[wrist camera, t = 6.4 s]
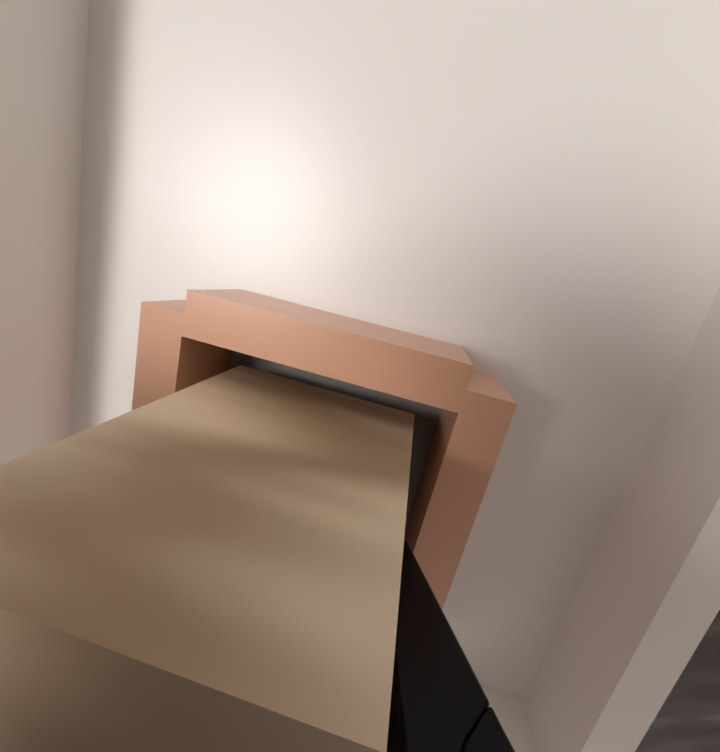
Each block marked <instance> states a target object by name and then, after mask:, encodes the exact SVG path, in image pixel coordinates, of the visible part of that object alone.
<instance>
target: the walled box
mask: <svg viewBox="0 0 720 752" xmlns="http://www.w3.org/2000/svg"><path fill="white" fill-rule="evenodd" d="M240 365H242V366H245V367H249V368H252V369H256V370H259V371H263V372H266V373H270V374H274V375H277V376H281V377H284V378H288V379H291V380H295V381H298V382H302V383H305V384H309V385H313V386H316V387H320V388H323V389H327V390H330V391H334V392H337V393H341V394H345V395H348V396H352V397H355V398H359V399H362V400H366V401H369V402H373V403H376V404H380V405H384V406H387V407H391V408H394V409H398V410H401V411H405V412H408V413H412V414H415V415H414V427H413V439H412V451H411V463H410V475H409V487H408V499H407V511H406V523H405V535H404V539H405V540H406V541H407V542H408V544H409V546H410V548H411V550H412V552H413V554H414V556H415V558H416V560H417V562H418V564H419V566H420V568H421V570H422V571H423V573H424V575H425V577H426V579H427V581H428V583H429V585H430V587H431V589H432V591H433V593H434V595H435V597H436V599H437V601H438V603H439V605H440V607H441V609H442V611H443V613H444V615H445V616H446V618H447V620H448V622H449V624H450V626H451V628H452V630H453V632H454V634H455V636H456V638H457V640H458V642H459V644H460V646H461V648H462V650H463V652H464V654H465V656H466V658H467V660H468V661H469V663H470V665H471V667H472V669H473V671H474V673H475V675H476V677H477V679H478V681H479V683H480V685H481V687H482V689H483V691H484V693H485V695H486V697H487V699H488V701H489V707H492V708H493V710H494V712H495V714H496V716H497V718H498V720H499V722H500V724H501V726H502V728H503V729H504V731H505V733H506V735H507V737H508V739H509V741H510V743H511V745H512V746H513V748H514V750H515V752H635V751H636V749H637V747H638V746H639V744H640V742H641V741H642V739H643V737H644V736H645V734H646V732H647V731H648V729H649V727H650V726H651V724H652V722H653V721H654V719H655V717H656V715H657V714H658V712H659V710H660V709H661V707H662V705H663V704H664V702H665V700H666V699H667V697H668V695H669V694H670V692H671V690H672V689H673V687H674V685H675V684H676V682H677V680H678V679H679V677H680V675H681V674H682V672H683V670H684V669H685V667H686V665H687V663H688V662H689V660H690V658H691V657H692V655H693V653H694V652H695V650H696V648H697V647H698V645H699V643H700V642H701V640H702V638H703V637H704V635H705V633H706V632H707V630H708V628H709V627H710V625H711V623H712V622H713V620H714V618H715V617H716V615H717V613H718V612H719V610H720V0H0V465H3V464H5V463H7V462H10V461H12V460H15V459H17V458H19V457H22V456H24V455H27V454H29V453H31V452H34V451H36V450H39V449H41V448H43V447H46V446H48V445H51V444H53V443H55V442H58V441H60V440H63V439H65V438H67V437H70V436H72V435H75V434H77V433H79V432H82V431H84V430H87V429H89V428H91V427H94V426H96V425H99V424H101V423H103V422H106V421H108V420H111V419H113V418H115V417H118V416H120V415H123V414H125V413H127V412H130V411H132V410H134V409H137V408H139V407H142V406H144V405H146V404H149V403H151V402H154V401H156V400H158V399H161V398H163V397H166V396H168V395H170V394H173V393H175V392H178V391H180V390H182V389H185V388H187V387H190V386H192V385H194V384H197V383H199V382H202V381H204V380H206V379H209V378H211V377H214V376H216V375H218V374H221V373H223V372H226V371H228V370H230V369H233V368H235V367H238V366H240Z"/></svg>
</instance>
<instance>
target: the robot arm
mask: <svg viewBox="0 0 720 752" xmlns="http://www.w3.org/2000/svg"><path fill="white" fill-rule="evenodd" d="M387 752H515V750H514V748H513V746H512V745H511V743H510V741H509V739H508V737H507V735H506V733H505V731H504V729H503V728H502V726H501V724H500V722H499V720H498V718H497V716H496V714H495V712H494V710H493V708H492V707H489V701H488V699H487V697H486V695H485V693H484V691H483V689H482V687H481V685H480V683H479V681H478V679H477V677H476V675H475V673H474V671H473V669H472V667H471V665H470V663H469V661H468V660H467V658H466V656H465V654H464V652H463V650H462V648H461V646H460V644H459V642H458V640H457V638H456V636H455V634H454V632H453V630H452V628H451V626H450V624H449V622H448V620H447V618H446V616H445V615H444V613H443V611H442V609H441V607H440V605H439V603H438V601H437V599H436V597H435V595H434V593H433V591H432V589H431V587H430V585H429V583H428V581H427V579H426V577H425V575H424V573H423V571H422V570H421V568H420V566H419V564H418V562H417V560H416V558H415V556H414V554H413V552H412V550H411V548H410V546H409V544H408V542H407V541H406V540H405V539H404V547H403V559H402V572H401V584H400V596H399V608H398V620H397V632H396V644H395V656H394V668H393V680H392V692H391V704H390V716H389V728H388V740H387Z"/></svg>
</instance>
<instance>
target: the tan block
mask: <svg viewBox="0 0 720 752" xmlns="http://www.w3.org/2000/svg"><path fill="white" fill-rule="evenodd" d="M414 415H415V414H412V413H408V412H405V411H401V410H398V409H394V408H391V407H387V406H384V405H380V404H376V403H373V402H369V401H366V400H362V399H359V398H355V397H352V396H348V395H345V394H341V393H337V392H334V391H330V390H327V389H323V388H320V387H316V386H313V385H309V384H305V383H302V382H298V381H295V380H291V379H288V378H284V377H281V376H277V375H274V374H270V373H266V372H263V371H259V370H256V369H252V368H249V367H245V366H242V365H240V366H238V367H235V368H233V369H230V370H228V371H226V372H223V373H221V374H218V375H216V376H214V377H211V378H209V379H206V380H204V381H202V382H199V383H197V384H194V385H192V386H190V387H187V388H185V389H182V390H180V391H178V392H175V393H173V394H170V395H168V396H166V397H163V398H161V399H158V400H156V401H154V402H151V403H149V404H146V405H144V406H142V407H139V408H137V409H134V410H132V411H130V412H127V413H125V414H123V415H120V416H118V417H115V418H113V419H111V420H108V421H106V422H103V423H101V424H99V425H96V426H94V427H91V428H89V429H87V430H84V431H82V432H79V433H77V434H75V435H72V436H70V437H67V438H65V439H63V440H60V441H58V442H55V443H53V444H51V445H48V446H46V447H43V448H41V449H39V450H36V451H34V452H31V453H29V454H27V455H24V456H22V457H19V458H17V459H15V460H12V461H10V462H7V463H5V464H3V465H0V752H387V740H388V728H389V716H390V704H391V692H392V680H393V668H394V656H395V644H396V632H397V620H398V608H399V596H400V584H401V572H402V559H403V547H404V535H405V523H406V511H407V499H408V487H409V475H410V463H411V451H412V439H413V427H414Z"/></svg>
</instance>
